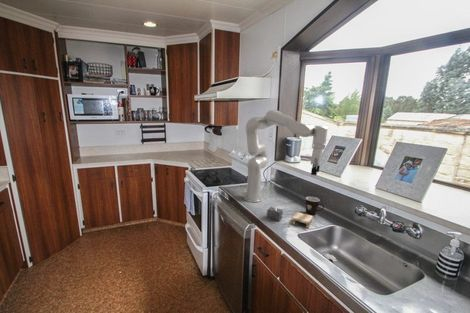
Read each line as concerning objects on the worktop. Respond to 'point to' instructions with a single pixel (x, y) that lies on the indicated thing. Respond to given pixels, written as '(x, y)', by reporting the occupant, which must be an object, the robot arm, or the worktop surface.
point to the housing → (274, 214)
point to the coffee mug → (312, 205)
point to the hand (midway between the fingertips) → (314, 173)
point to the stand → (302, 219)
